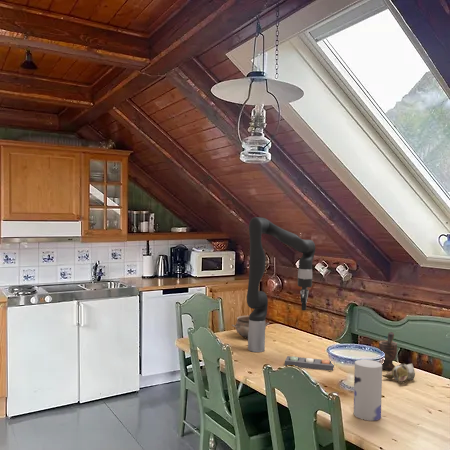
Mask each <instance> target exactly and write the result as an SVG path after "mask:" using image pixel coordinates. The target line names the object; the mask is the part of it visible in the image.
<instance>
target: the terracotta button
mask: <svg viewBox="0 0 450 450" xmlns="http://www.w3.org/2000/svg"><path fill="white" fill-rule="evenodd" d="M321 360H322V364H330V361H329V359H321Z"/></svg>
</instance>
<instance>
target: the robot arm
mask: <svg viewBox="0 0 450 450" xmlns="http://www.w3.org/2000/svg"><path fill="white" fill-rule="evenodd" d="M248 231H249V232H248V233H249V235H248V236H249V261H248V263H249V264H248V267H249V268H248V285H247V290H246V291H247V292H246V304H247V306H248V308H250V309H253V310H252V312H251V313H250V314H249V315H248V316H249V332H248V339H247V350H248V351H249V352H253V353H262V352H264V351H265V347H266V346H265V345H266V328H265V325H266V324H265V323H266V317H267V315H268V303H269V300H268V295H267V294H266V292H264V291H262V290H259V289H260V282H262V281H261V280H262V278H263V276H264V273H265V272H266V264H267V263H266V262H267V261H266V259H267V257H266V253H265V251H264V247H263V244H262V234H265V235H270V236H271V237H274V238H275V239H277V240H278V241H279V242H281V243H283V244H284V245H286V246H289V247H291V248H293V249H294V250H295V251H297V252H298V253H301V254H302V256H301V257H300V258H299V259H298V271H297V287H300V288H301V289H300V303H301V311H306V310H307V303H308V298H309V292H310V290H309V289H308V288H312V286H313V260H314V256H315V254H316V244H315V242H314V240H312V239H304V238H303V239H302V238H301V237H299V236H298V235H297V234H296V233H293V232H291V231H289V230H286V229H284V228H282V227H280V226H278V225H276V224H274V223H273V222H272V221H270V220H269V219H267V218H265V217H260V216H259V217H257V216H256V217H252V218H251V220H250V221H249V224H248Z"/></svg>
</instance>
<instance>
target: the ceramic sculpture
mask: <svg viewBox="0 0 450 450" xmlns="http://www.w3.org/2000/svg"><path fill="white" fill-rule="evenodd" d="M415 376H416V372H415V368H414V364H413V363H408V364H406V363H404V362H400V363H399V365H395V367H394V368H393V370H389V372H387V373H385V374H384V375H383V374H382V378H383V377H384V378H386V379H391V380H392V379H394V380H395V381H397V382H398V383H400V384H405V383H406V382H407V381H408V380H410V381H413V380H414V379H415V378H416V377H415Z"/></svg>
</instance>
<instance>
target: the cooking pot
mask: <svg viewBox="0 0 450 450" xmlns="http://www.w3.org/2000/svg"><path fill="white" fill-rule="evenodd" d="M236 319H237V320H236V323H235V324H231V326H232V327H233V328H235V330H236V331H235V332H237V333H238V335H240V336H242V337H243V338H245V339H247V340H248V332H249V315H240V316H237V317H236ZM268 325H270V322H265V329H266V327H267V326H268Z"/></svg>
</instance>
